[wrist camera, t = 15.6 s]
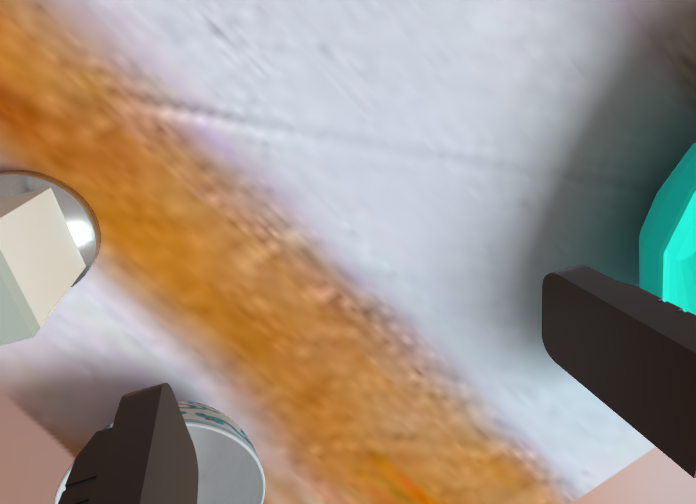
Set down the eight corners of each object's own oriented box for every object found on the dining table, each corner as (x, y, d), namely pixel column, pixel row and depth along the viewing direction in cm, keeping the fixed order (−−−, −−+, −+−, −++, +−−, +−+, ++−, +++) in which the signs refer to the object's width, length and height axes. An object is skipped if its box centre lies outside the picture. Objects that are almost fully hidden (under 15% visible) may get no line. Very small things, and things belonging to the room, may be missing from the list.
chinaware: (288, 400, 43) (301, 461, 36) (204, 511, 45) (201, 590, 38) (139, 335, 37) (120, 393, 30) (50, 467, 39) (12, 551, 32)
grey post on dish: (-72, 186, 30) (-159, 216, 23) (72, 158, 31) (31, 179, 24) (-9, 303, 33) (-68, 359, 26) (118, 273, 35) (93, 318, 28)
